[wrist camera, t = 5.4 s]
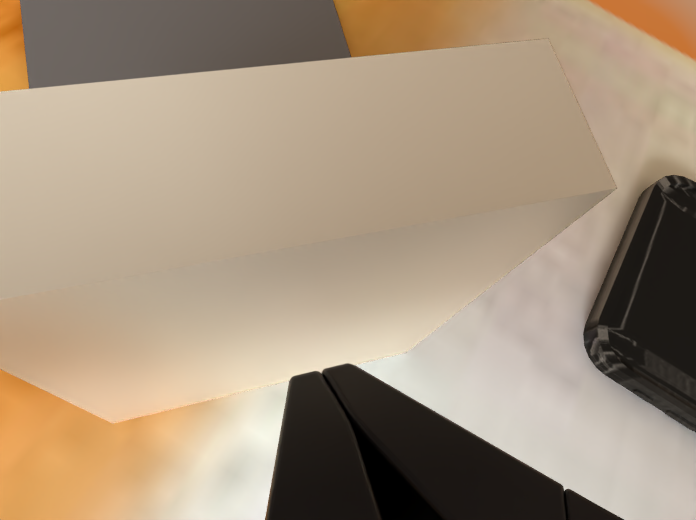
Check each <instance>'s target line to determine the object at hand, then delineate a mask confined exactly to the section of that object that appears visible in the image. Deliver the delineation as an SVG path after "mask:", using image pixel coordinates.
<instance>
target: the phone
mask: <svg viewBox="0 0 696 520" xmlns="http://www.w3.org/2000/svg"><path fill="white" fill-rule="evenodd" d="M583 335H584V346H585V348H586V351H587V353H588V356H589V358H590V359H591V361H592V362H593V364H594V365H595V366H596V368H598V369H599V370H600V371H601V372H602V373H604V374H605V375H606V376H608V377H609V378H611V379H612V380H614V381H616V382H617V383H619V384H620V385H622V386H623V387H625V388H627V389H628V390H630V391H631V392H633V393H634V394H636V395H637V396H639V397H641V398H642V399H644V400H645V401H647V402H649V403H650V404H652V405H654V406H655V407H657V408H658V409H660V410H662V411H663V412H665V414H667V415H668V416H670V417H671V418H673V419H675V420H676V421H678V422H679V423H681V424H683V425H684V426H686V427H687V428H689V429H690V430H692V431H695V432H696V182H694V181H692V180H690V179H688V178H685V177H683V176H677V175H671V176H665V177H663V178H662V179H660V180H658V181H657V182H656V183H654V184H653V185H651V186H650V187H649V188H647V189H646V190H644V191H643V193H642V194H641V196H640V197H639V199H638V202H637V204H636V206H635V209H634V211H633V213H632V216H631V218H630V220H629V223H628V225H627V228H626V230H625V232H624V235H623V237H622V239H621V242H620V244H619V246H618V249H617V251H616V253H615V256H614V258H613V261H612V263H611V265H610V268H609V270H608V272H607V275H606V277H605V279H604V282H603V284H602V287H601V289H600V291H599V294H598V296H597V298H596V301H595V303H594V305H593V308H592V310H591V312H590V315H589V317H588V320H587V322H586V325H585V329H584V334H583Z"/></svg>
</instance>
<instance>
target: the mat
mask: <svg viewBox="0 0 696 520" xmlns="http://www.w3.org/2000/svg"><path fill="white" fill-rule="evenodd" d="M20 5H21V14H22V24H23V33H24V43H25V53H26V62H27V72H28V81H29V89H33V88H43V87H54V86H64V85H74V84H84V83H95V82H105V81H115V80H126V79H136V78H146V77H157V76H167V75H177V74H187V73H198V72H208V71H218V70H229V69H239V68H249V67H259V66H270V65H280V64H290V63H301V62H311V61H321V60H331V59H342V58H351V55H350V52H349V49H348V46H347V43H346V40H345V36H344V33H343V30H342V27H341V24H340V21H339V18H338V15H337V12H336V8H335V5H334V2H333V0H20Z"/></svg>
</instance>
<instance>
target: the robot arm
mask: <svg viewBox="0 0 696 520" xmlns="http://www.w3.org/2000/svg"><path fill="white" fill-rule="evenodd" d="M265 520H624V519H622V518H620V517H618V516H616V515H614V514H613V513H611V512H609V511H607V510H605V509H604V508H602V507H600V506H598V505H596V504H595V503H593V502H591V501H589V500H588V499H586V498H584V497H583V496H581V495H579V494H577V493H576V492H574V491H572V490H570V489H566V490H565V491H564V489H563V486H562V485H561V484H560V483H558V482H556V481H554V480H553V479H551V478H549V477H547V476H546V475H544V474H542V473H540V472H539V471H537V470H535V469H534V468H532V467H530V466H528V465H527V464H525V463H523V462H521V461H520V460H518V459H516V458H514V457H513V456H511V455H509V454H508V453H506V452H504V451H502V450H501V449H499V448H497V447H495V446H494V445H492V444H490V443H488V442H487V441H485V440H483V439H482V438H480V437H478V436H476V435H475V434H473V433H471V432H469V431H468V430H466V429H464V428H462V427H461V426H459V425H457V424H456V423H454V422H452V421H450V420H449V419H447V418H445V417H443V416H442V415H440V414H438V413H436V412H435V411H433V410H431V409H430V408H428V407H426V406H424V405H423V404H421V403H419V402H417V401H416V400H414V399H412V398H410V397H409V396H407V395H405V394H404V393H402V392H400V391H398V390H397V389H395V388H393V387H391V386H390V385H388V384H386V383H384V382H383V381H381V380H379V379H378V378H376V377H374V376H372V375H371V374H369V373H367V372H365V371H364V370H362V369H360V368H358V367H357V366H355V365H353V364H350V363H345V364H341V365H337V366H333V367H329V368H325V369H324V370H323V371H322V373H320V372H319V371H312V372H308V373H304V374H300V375H295V376H293V377H291V379H290V381H289V386H288V392H287V397H286V403H285V409H284V415H283V420H282V426H281V432H280V437H279V443H278V449H277V455H276V460H275V466H274V472H273V478H272V483H271V489H270V495H269V500H268V506H267V512H266V518H265Z"/></svg>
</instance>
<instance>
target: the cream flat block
mask: <svg viewBox="0 0 696 520" xmlns="http://www.w3.org/2000/svg"><path fill="white" fill-rule="evenodd" d="M615 189H617V187H616V185H615V182H614V180H613V178H612V176H611V174H610V172H609V169H608V167H607V165H606V163H605V161H604V158H603V156H602V154H601V152H600V150H599V148H598V145H597V143H596V141H595V139H594V137H593V135H592V132H591V130H590V128H589V126H588V124H587V121H586V119H585V117H584V115H583V113H582V111H581V108H580V106H579V104H578V102H577V100H576V98H575V95H574V93H573V91H572V89H571V87H570V84H569V82H568V80H567V78H566V76H565V74H564V71H563V69H562V67H561V65H560V63H559V60H558V58H557V56H556V54H555V52H554V50H553V47H552V45H551V43H550V41H549V39H537V40H527V41H517V42H506V43H496V44H486V45H476V46H465V47H455V48H445V49H434V50H424V51H414V52H403V53H393V54H383V55H373V56H362V57H352V58H342V59H331V60H321V61H311V62H301V63H290V64H280V65H270V66H259V67H249V68H239V69H229V70H218V71H208V72H198V73H187V74H177V75H167V76H157V77H146V78H136V79H126V80H115V81H105V82H95V83H84V84H74V85H64V86H54V87H43V88H33V89H23V90H12V91H2V92H0V369H1V370H3V371H5V372H8V373H10V374H12V375H14V376H16V377H18V378H20V379H22V380H24V381H26V382H28V383H30V384H32V385H34V386H36V387H38V388H41V389H43V390H45V391H47V392H49V393H51V394H53V395H55V396H57V397H59V398H61V399H63V400H65V401H67V402H69V403H71V404H74V405H76V406H78V407H80V408H82V409H84V410H86V411H88V412H90V413H92V414H94V415H96V416H98V417H100V418H102V419H104V420H107V421H109V422H111V423H117V422H121V421H126V420H130V419H134V418H138V417H142V416H146V415H150V414H155V413H159V412H163V411H167V410H171V409H175V408H179V407H184V406H188V405H192V404H196V403H200V402H204V401H209V400H213V399H217V398H221V397H225V396H229V395H233V394H238V393H242V392H246V391H250V390H254V389H258V388H262V387H267V386H271V385H275V384H279V383H283V382H287V381H290V379H291V377H293V376H295V375H300V374H304V373H308V372H312V371H319V372H320V373H322V371H323V370H324V369H325V368H329V367H333V366H337V365H341V364H345V363H350V364H353V365H358V364H362V363H366V362H370V361H374V360H378V359H383V358H387V357H391V356H395V355H399V354H403V353H407V352H408V351H409V350H410V349H412V348H413V347H414V346H416V345H417V344H418V343H419V342H421V341H422V340H423V339H425V338H426V337H427V336H428V335H430V334H431V333H432V332H433V331H435V330H436V329H437V328H439V327H440V326H441V325H442V324H444V323H445V322H446V321H448V320H449V319H450V318H451V317H453V316H454V315H455V314H457V313H458V312H459V311H460V310H462V309H463V308H464V307H466V306H467V305H468V304H469V303H471V302H472V301H473V300H475V299H476V298H477V297H478V296H480V295H481V294H482V293H483V292H485V291H486V290H487V289H489V288H490V287H491V286H492V285H494V284H495V283H496V282H498V281H499V280H500V279H501V278H503V277H504V276H505V275H507V274H508V273H509V272H510V271H512V270H513V269H514V268H516V267H517V266H518V265H519V264H521V263H522V262H523V261H524V260H526V259H527V258H528V257H530V256H531V255H532V254H533V253H535V252H536V251H537V250H539V249H540V248H541V247H542V246H544V245H545V244H546V243H548V242H549V241H550V240H551V239H553V238H554V237H555V236H557V235H558V234H559V233H560V232H562V231H563V230H564V229H565V228H567V227H568V226H569V225H571V224H572V223H573V222H574V221H576V220H577V219H578V218H580V217H581V216H582V215H583V214H585V213H586V212H587V211H589V210H590V209H591V208H592V207H594V206H595V205H596V204H598V203H599V202H600V201H601V200H603V199H604V198H605V197H606V196H608V195H609V194H610V193H612V192H613V191H614V190H615Z"/></svg>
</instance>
